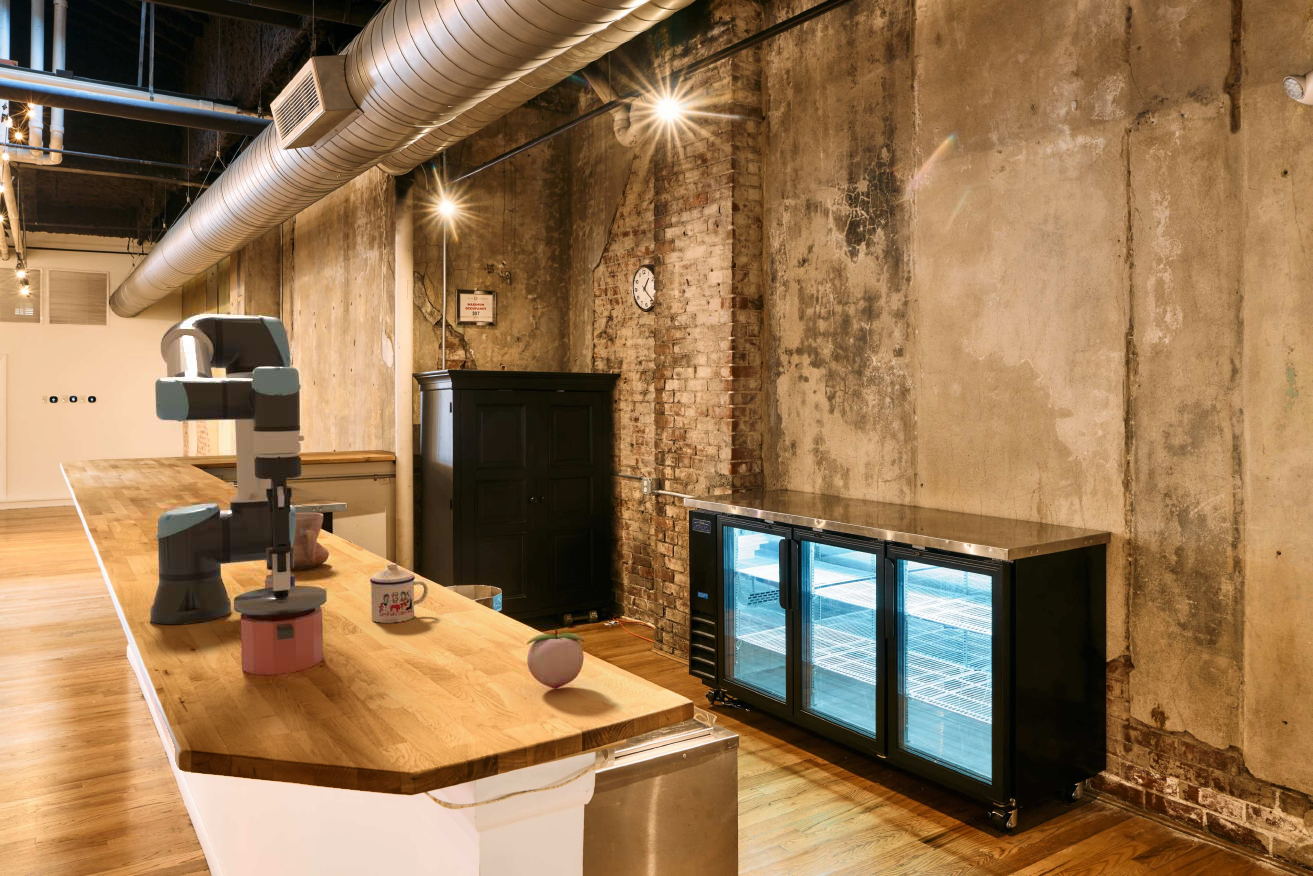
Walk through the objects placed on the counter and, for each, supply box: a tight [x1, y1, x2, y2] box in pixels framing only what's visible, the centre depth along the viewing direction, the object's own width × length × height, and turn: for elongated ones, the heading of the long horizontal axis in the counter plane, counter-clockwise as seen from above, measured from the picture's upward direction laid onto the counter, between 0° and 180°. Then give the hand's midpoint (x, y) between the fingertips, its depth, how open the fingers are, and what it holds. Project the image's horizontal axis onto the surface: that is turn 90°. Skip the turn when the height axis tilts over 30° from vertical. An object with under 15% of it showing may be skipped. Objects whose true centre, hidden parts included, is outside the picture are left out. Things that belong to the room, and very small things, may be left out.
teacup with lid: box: [369, 562, 429, 624], centre depth 181 cm, size 12×9×12 cm
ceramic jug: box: [290, 512, 330, 570], centre depth 230 cm, size 18×14×14 cm
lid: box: [233, 546, 328, 615], centre depth 150 cm, size 15×15×10 cm
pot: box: [240, 606, 324, 676], centre depth 151 cm, size 21×13×9 cm, turn 27°
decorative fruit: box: [526, 627, 586, 689], centre depth 138 cm, size 9×8×10 cm
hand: (281, 586), depth 150 cm, fingers closed on lid, 4 cm apart
